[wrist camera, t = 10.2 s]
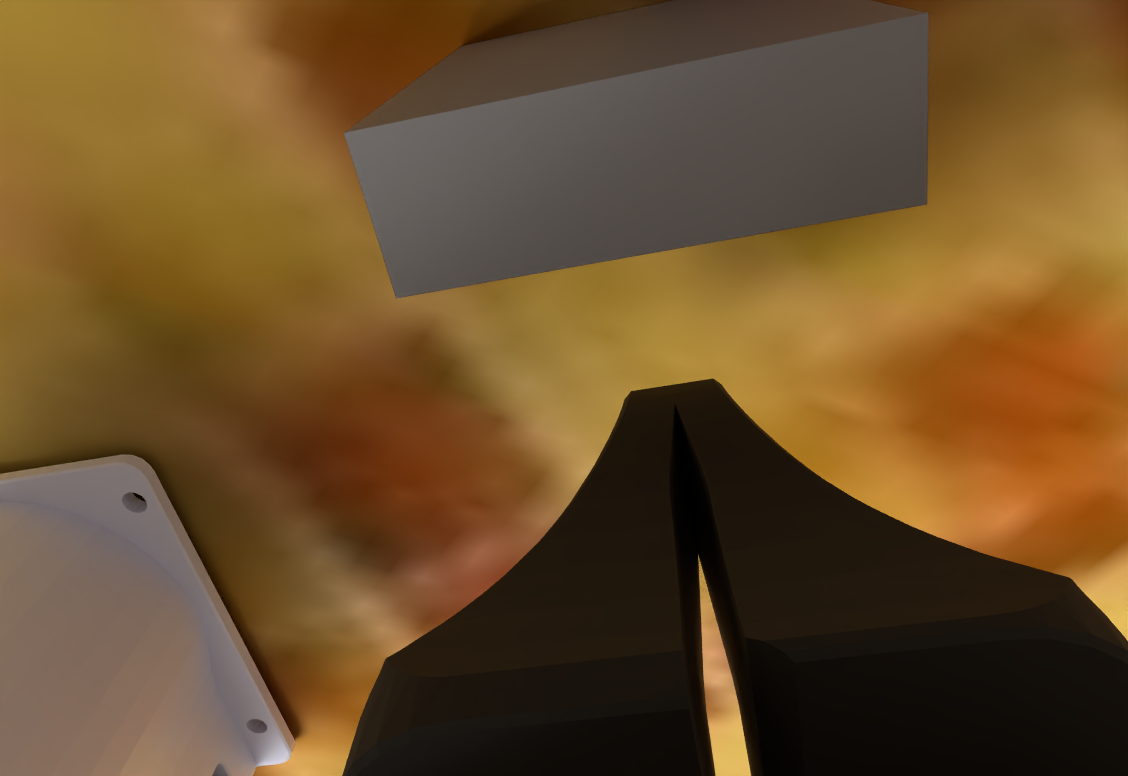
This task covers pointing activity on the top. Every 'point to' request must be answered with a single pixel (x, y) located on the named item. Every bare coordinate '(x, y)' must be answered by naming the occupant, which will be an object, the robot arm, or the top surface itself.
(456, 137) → the grey rectangular block
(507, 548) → the top surface
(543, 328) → the top surface
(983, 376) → the top surface
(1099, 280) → the top surface
